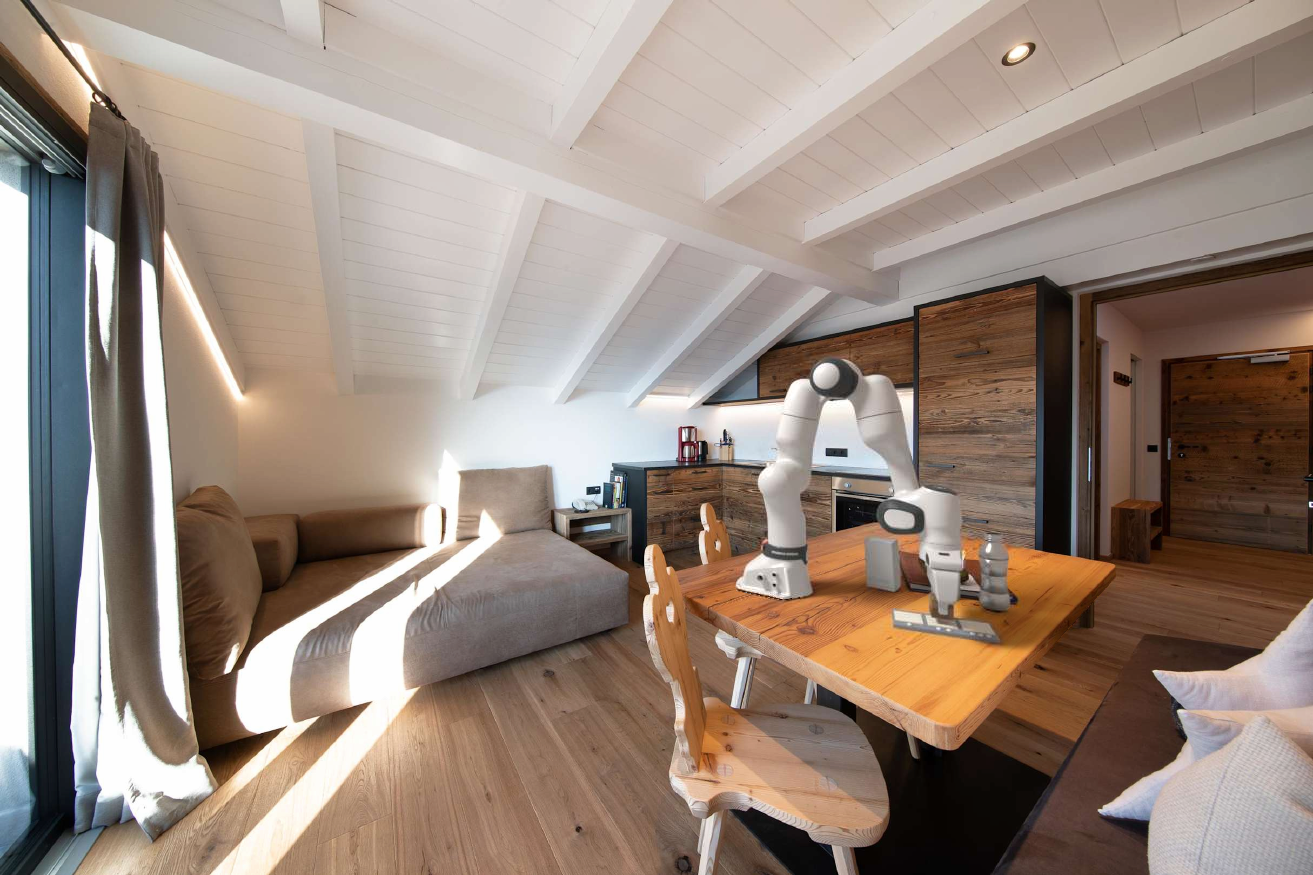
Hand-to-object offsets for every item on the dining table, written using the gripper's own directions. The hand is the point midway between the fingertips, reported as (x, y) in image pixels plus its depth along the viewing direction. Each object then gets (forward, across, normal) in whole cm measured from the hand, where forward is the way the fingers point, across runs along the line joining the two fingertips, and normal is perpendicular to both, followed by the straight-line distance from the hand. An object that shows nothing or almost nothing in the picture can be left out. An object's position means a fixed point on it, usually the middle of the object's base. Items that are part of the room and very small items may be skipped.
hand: (940, 608), depth 107 cm
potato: (+4, -37, +5) cm, 37 cm away
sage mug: (+4, -22, +4) cm, 23 cm away
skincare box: (+4, -24, -12) cm, 27 cm away
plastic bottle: (+4, -16, +14) cm, 22 cm away
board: (+4, 0, 0) cm, 4 cm away
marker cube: (+2, 0, 0) cm, 2 cm away
